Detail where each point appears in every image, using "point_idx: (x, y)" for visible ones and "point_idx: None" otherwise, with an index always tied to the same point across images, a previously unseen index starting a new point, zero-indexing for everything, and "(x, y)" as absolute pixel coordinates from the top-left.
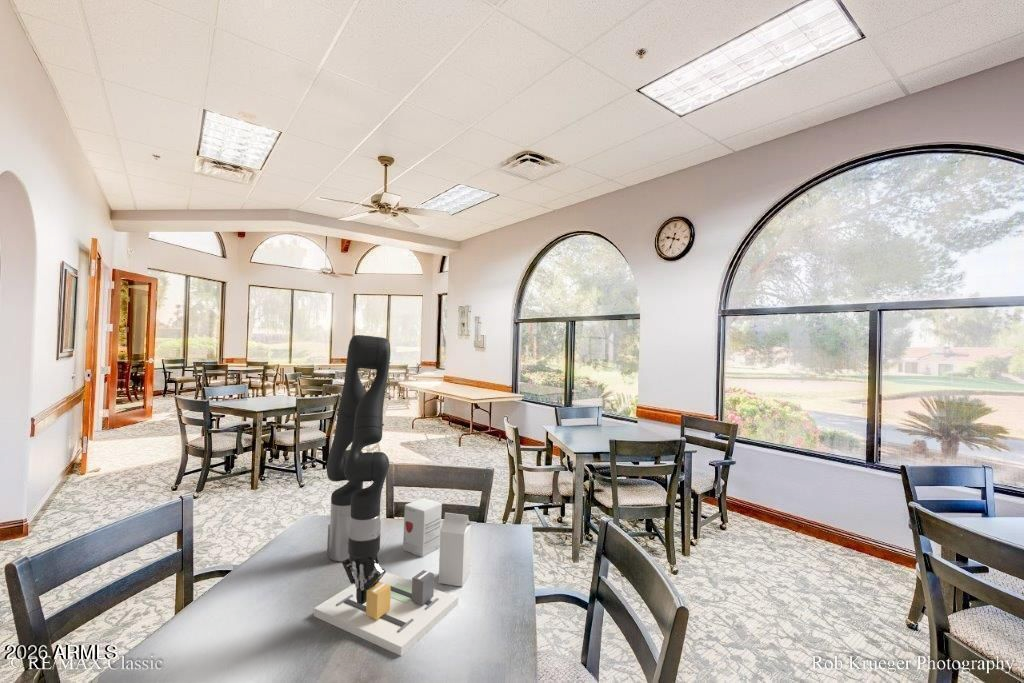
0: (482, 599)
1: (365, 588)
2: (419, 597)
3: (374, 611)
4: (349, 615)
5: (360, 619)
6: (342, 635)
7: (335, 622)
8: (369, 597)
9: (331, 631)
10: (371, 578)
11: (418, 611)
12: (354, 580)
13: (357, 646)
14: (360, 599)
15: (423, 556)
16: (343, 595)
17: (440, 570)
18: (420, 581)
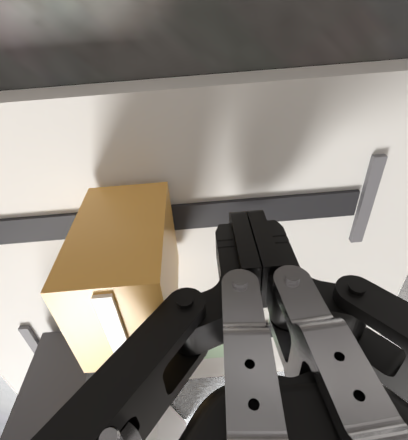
0: (3, 403)
1: (216, 290)
2: (50, 356)
3: (99, 208)
4: (252, 137)
5: (174, 149)
6: (199, 34)
7: (301, 71)
8: (134, 252)
9: (280, 20)
10: (131, 392)
11: (31, 307)
12: (338, 303)
13: (50, 18)
14: (239, 226)
15: None
16: (397, 220)
17: (151, 438)
18: (18, 436)
